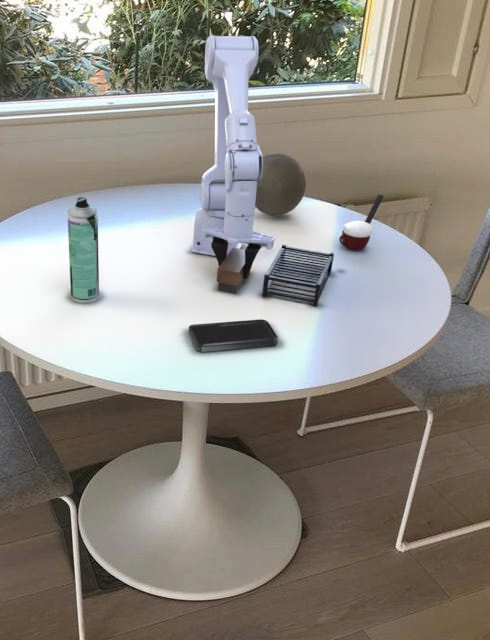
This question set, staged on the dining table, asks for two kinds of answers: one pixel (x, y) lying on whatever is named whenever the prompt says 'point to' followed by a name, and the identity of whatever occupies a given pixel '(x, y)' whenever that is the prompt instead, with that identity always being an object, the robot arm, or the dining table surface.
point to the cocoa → (359, 230)
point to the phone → (232, 335)
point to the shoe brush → (231, 271)
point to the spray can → (83, 252)
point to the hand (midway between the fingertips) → (234, 274)
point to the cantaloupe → (279, 185)
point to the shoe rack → (317, 284)
